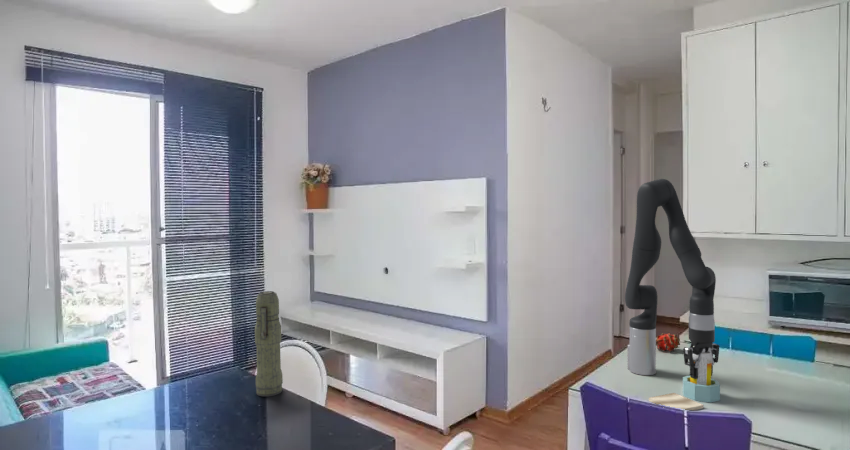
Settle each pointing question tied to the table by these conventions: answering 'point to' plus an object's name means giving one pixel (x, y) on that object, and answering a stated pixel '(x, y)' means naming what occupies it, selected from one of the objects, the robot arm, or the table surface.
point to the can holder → (701, 390)
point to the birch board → (676, 401)
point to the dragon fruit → (667, 342)
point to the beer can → (703, 369)
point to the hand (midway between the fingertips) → (701, 376)
